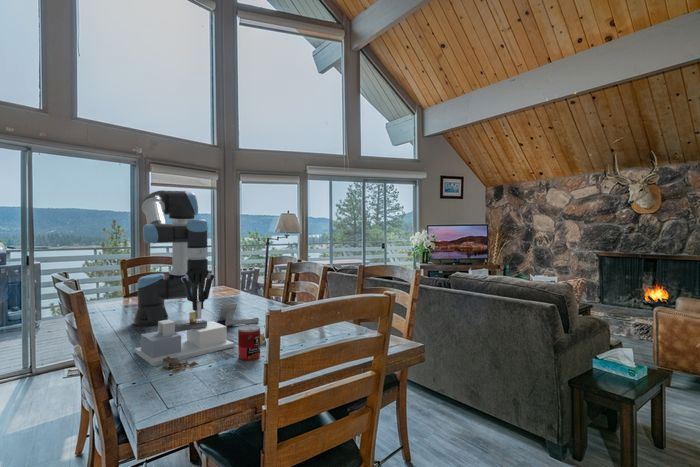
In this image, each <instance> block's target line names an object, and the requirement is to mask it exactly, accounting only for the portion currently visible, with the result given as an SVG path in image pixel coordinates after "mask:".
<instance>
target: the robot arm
mask: <svg viewBox="0 0 700 467" xmlns="http://www.w3.org/2000/svg"><path fill="white" fill-rule="evenodd" d="M198 205H199V204H198V199H197V196H196V194H195V193H194V192H192V191H188V190H162V189H161V190H156V191H153V192H151V193H149V194H148V195H146V196H145V197H144V198H143V200H142V202H141V209H142V210H141V211H142V213H143V214H144V215H145V219H146V224H144V225H143V226H142V237H143V238H142V239H143V242H144V243H146V244H169V243H170V244H172V247H171V248H172V252H171V253H172V254H171V256H172V260H171V261H172V263H171V264H172V266H171V267H172V268H171V270H170V271H169V272H168V275H165V274H164V273H163V272H161V273H151V274H148V275H144V276H141V277H139V278H138V279H137V309H136V312H135V316H134V318H133V325H134V326H138V327H149V326H150V327H151V326H158V321H163V320H169V314H168V312H167V309H166V306H165V301H166V300H177V299H179V300H180V299H186V300H187V301H189V302H192V303H191V304H192V310H193V312H197V320H200V319H201V320H202V310H204V302H206V300H208V299H209V297H210V292H211V286H212V282H213V281H214V278H215V275H214V274H211V273H209V272H210V271H209V269H208V267H209V263H208V262H209V260H208V259H207V258H208V254H209V253H208V251H209V250H208V248H209V247H208V230H209V226H208V220H206V219H205V218H203V219H201V218H200V219H197V218H196V219H195V216H198V213H199V206H198ZM166 216H168V218H169V220H170V221H171V222H172V223H168V221H167V218H166Z"/></svg>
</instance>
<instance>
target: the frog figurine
mask: <svg viewBox="0 0 700 467" xmlns="http://www.w3.org/2000/svg"><path fill="white" fill-rule="evenodd" d="M163 363H165V364H166V365H165V366H163V367H162V368H161V371H165V372H166V371H168V370H169V368H168V367H171V368H172V369H171V371H173V373H182V372H183V371H182V370H185V372H189V371H191V370H193V368H196V366H199V362H197V361H195V360H194V361H192V362H191V361H190V362H189V361H181V360H178V359H177V358H170V357H169V356H168V357H167V358H164V359H163Z"/></svg>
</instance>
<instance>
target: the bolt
mask: <svg viewBox="0 0 700 467" xmlns="http://www.w3.org/2000/svg"><path fill="white" fill-rule="evenodd" d="M188 315H189V320H188V321H189V322H186V323H181V324H175V333H180V332H185V331H186V332H187V330H191V329H196V328H201V327H207V322H208V321H207V320H204V319H203V320H202V319H201V320H198V319H197V312H195V311H192V312H189V314H188Z"/></svg>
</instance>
